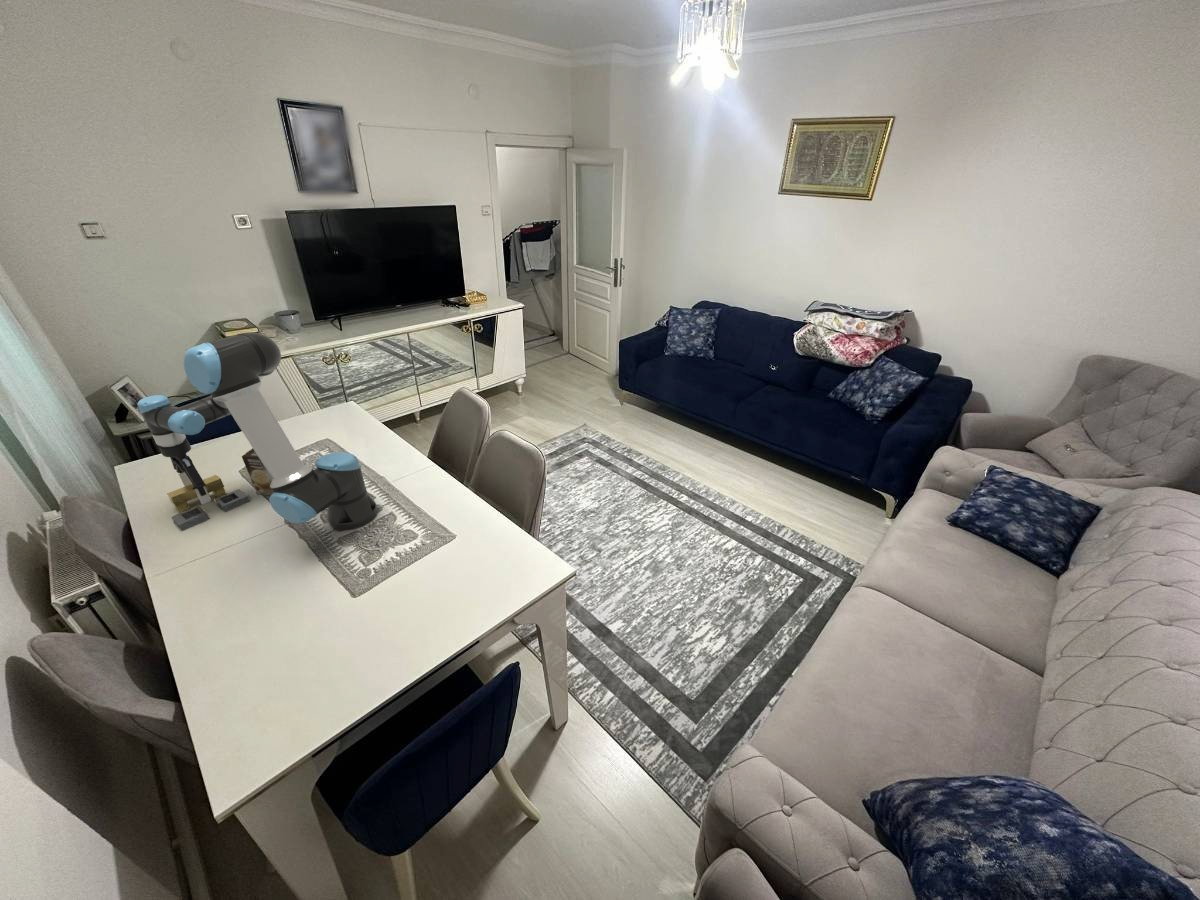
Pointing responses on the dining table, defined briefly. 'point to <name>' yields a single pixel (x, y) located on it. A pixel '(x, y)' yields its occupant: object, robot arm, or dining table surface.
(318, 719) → the dining table surface
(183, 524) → the silver square rings
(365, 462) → the dining table surface
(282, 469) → the robot arm
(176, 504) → the tall gold block
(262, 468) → the coffee box
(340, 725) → the dining table surface
